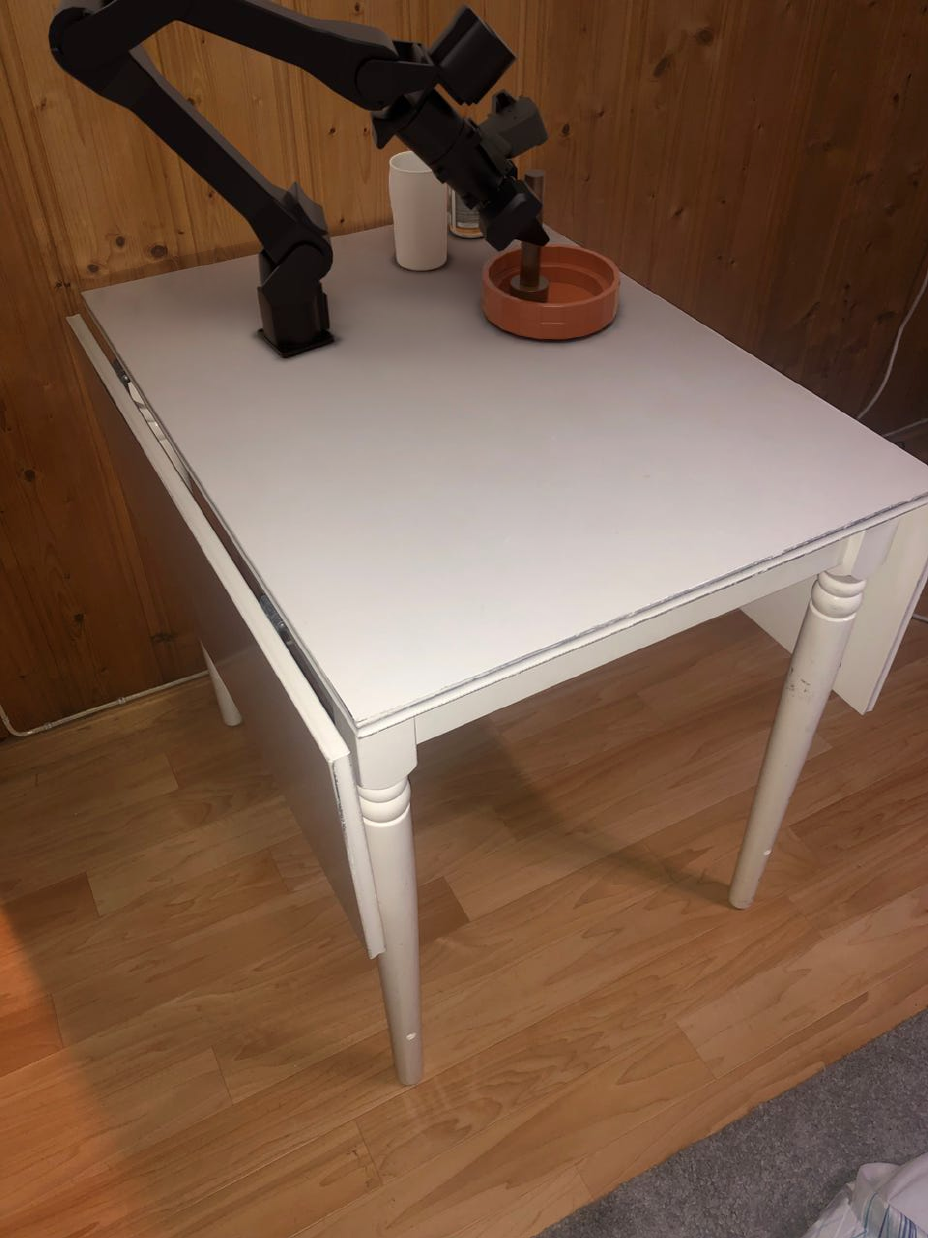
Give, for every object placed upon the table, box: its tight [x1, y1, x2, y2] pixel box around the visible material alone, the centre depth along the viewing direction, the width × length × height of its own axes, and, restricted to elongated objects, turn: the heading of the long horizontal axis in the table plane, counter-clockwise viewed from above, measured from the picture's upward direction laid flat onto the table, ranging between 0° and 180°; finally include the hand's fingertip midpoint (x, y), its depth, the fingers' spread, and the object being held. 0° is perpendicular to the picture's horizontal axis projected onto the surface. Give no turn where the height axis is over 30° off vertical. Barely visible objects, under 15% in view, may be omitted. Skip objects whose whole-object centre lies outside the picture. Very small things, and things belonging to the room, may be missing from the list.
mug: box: [388, 150, 448, 272], centre depth 123 cm, size 10×7×12 cm, turn 34°
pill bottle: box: [448, 186, 484, 239], centre depth 129 cm, size 6×6×10 cm
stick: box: [510, 168, 549, 303], centre depth 110 cm, size 4×4×14 cm
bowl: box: [481, 243, 622, 340], centre depth 116 cm, size 15×15×4 cm
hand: (543, 237), depth 111 cm, fingers closed on stick, 2 cm apart
